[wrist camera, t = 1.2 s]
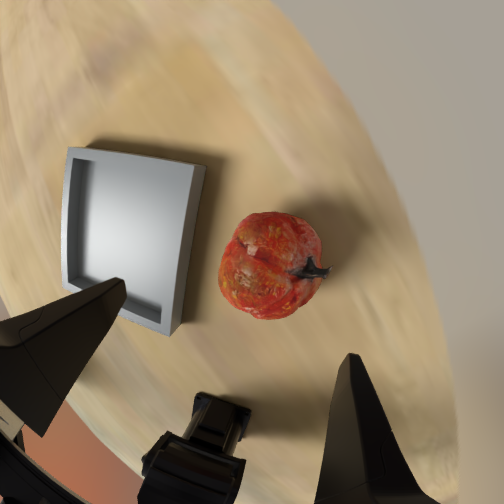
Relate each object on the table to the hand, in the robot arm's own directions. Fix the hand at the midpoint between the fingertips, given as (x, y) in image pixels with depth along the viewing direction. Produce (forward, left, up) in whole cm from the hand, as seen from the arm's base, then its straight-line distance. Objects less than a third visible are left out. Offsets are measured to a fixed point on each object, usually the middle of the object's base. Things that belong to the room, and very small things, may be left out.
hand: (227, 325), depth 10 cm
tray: (-3, +14, -13) cm, 20 cm away
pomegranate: (-1, 0, -14) cm, 14 cm away
